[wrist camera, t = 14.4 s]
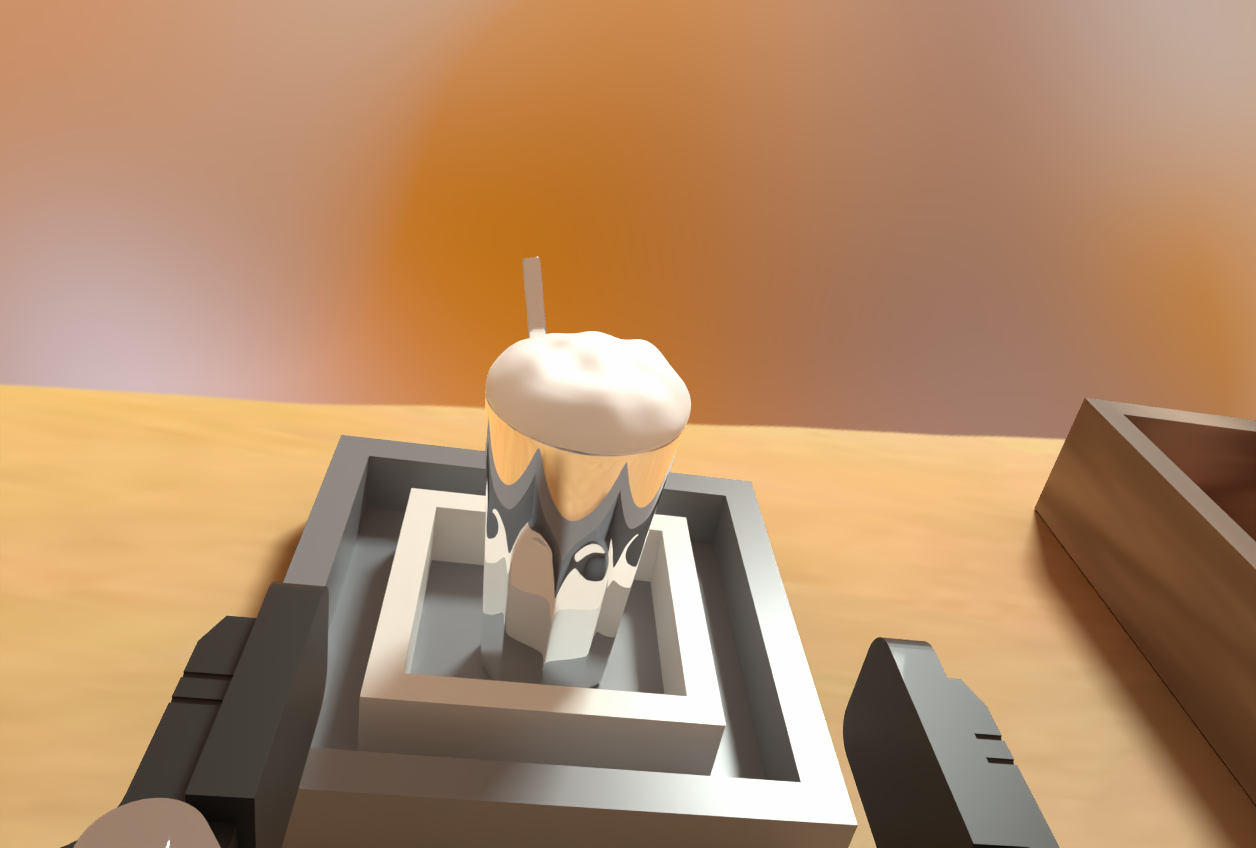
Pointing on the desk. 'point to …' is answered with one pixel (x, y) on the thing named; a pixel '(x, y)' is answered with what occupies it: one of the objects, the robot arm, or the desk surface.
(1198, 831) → the desk surface
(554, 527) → the milkshake
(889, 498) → the desk surface
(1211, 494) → the tray
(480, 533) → the dock box
